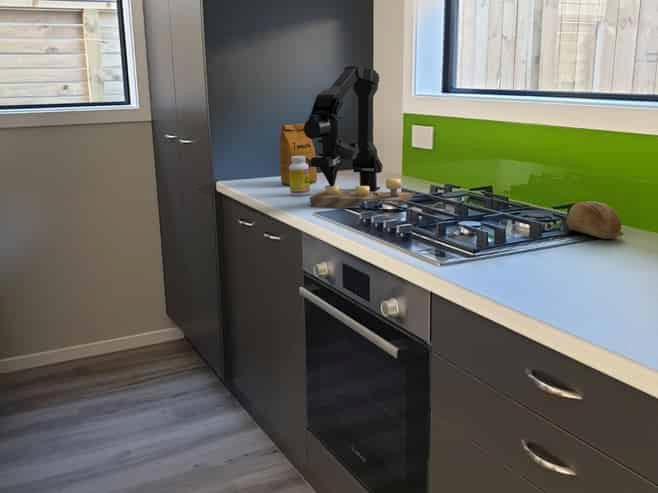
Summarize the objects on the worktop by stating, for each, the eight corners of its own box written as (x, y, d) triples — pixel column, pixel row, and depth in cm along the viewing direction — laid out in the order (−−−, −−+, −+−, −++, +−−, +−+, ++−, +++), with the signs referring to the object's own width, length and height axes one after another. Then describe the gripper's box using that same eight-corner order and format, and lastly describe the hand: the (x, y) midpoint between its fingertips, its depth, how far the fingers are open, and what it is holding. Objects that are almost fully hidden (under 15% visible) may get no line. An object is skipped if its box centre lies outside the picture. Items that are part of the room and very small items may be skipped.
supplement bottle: (307, 196, 229) (305, 157, 225) (288, 196, 230) (286, 158, 227) (312, 192, 235) (310, 155, 232) (293, 193, 236) (291, 155, 233)
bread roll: (596, 244, 155) (598, 209, 153) (555, 230, 169) (556, 198, 167) (631, 239, 158) (633, 205, 156) (587, 226, 172) (589, 194, 170)
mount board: (310, 206, 212) (309, 196, 211) (325, 199, 222) (325, 190, 222) (404, 210, 200) (403, 200, 199) (415, 202, 211) (415, 192, 210)
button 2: (389, 195, 209) (388, 178, 208) (403, 195, 208) (402, 178, 206) (384, 197, 205) (384, 180, 204) (398, 198, 204) (398, 181, 202)
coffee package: (320, 183, 253) (317, 122, 247) (290, 187, 247) (286, 125, 241) (308, 180, 261) (305, 121, 256) (278, 184, 255) (274, 124, 250)
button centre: (358, 201, 214) (358, 185, 213) (372, 202, 212) (371, 185, 211) (353, 204, 210) (352, 188, 209) (367, 205, 208) (366, 188, 207)
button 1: (329, 200, 218) (328, 184, 217) (341, 201, 216) (341, 185, 215) (323, 203, 214) (322, 187, 213) (336, 203, 212) (335, 187, 211)
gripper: (342, 138, 198) (344, 192, 202) (365, 132, 215) (367, 181, 219) (307, 138, 203) (310, 191, 207) (332, 132, 219) (334, 180, 223)
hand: (332, 186), depth 214 cm, fingers closed, pressing on button 1
